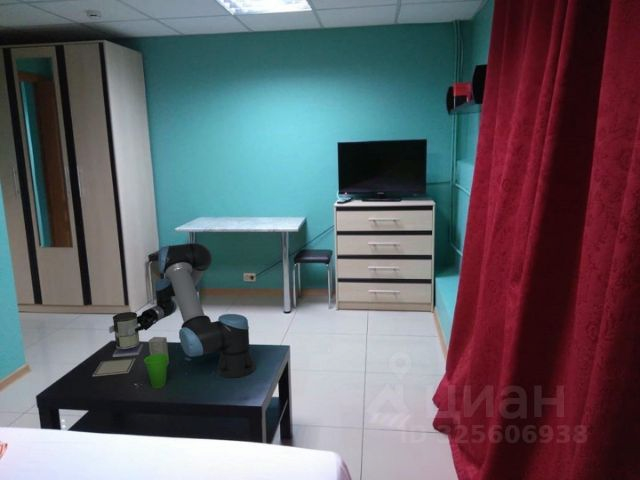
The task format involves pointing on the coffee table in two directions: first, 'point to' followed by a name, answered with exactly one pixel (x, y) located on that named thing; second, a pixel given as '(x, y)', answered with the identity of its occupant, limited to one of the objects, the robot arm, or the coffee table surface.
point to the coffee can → (125, 330)
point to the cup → (157, 369)
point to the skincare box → (158, 346)
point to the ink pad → (128, 351)
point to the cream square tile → (114, 367)
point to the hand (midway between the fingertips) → (119, 331)
